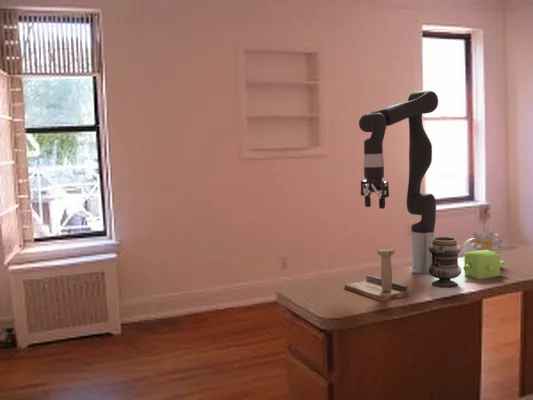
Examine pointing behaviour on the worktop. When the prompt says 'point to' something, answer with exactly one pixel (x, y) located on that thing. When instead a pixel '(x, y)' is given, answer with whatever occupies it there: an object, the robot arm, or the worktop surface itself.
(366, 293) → the board
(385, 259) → the handle
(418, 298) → the worktop surface
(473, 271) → the gearbox
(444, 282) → the apothecary jar
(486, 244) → the flower vase
